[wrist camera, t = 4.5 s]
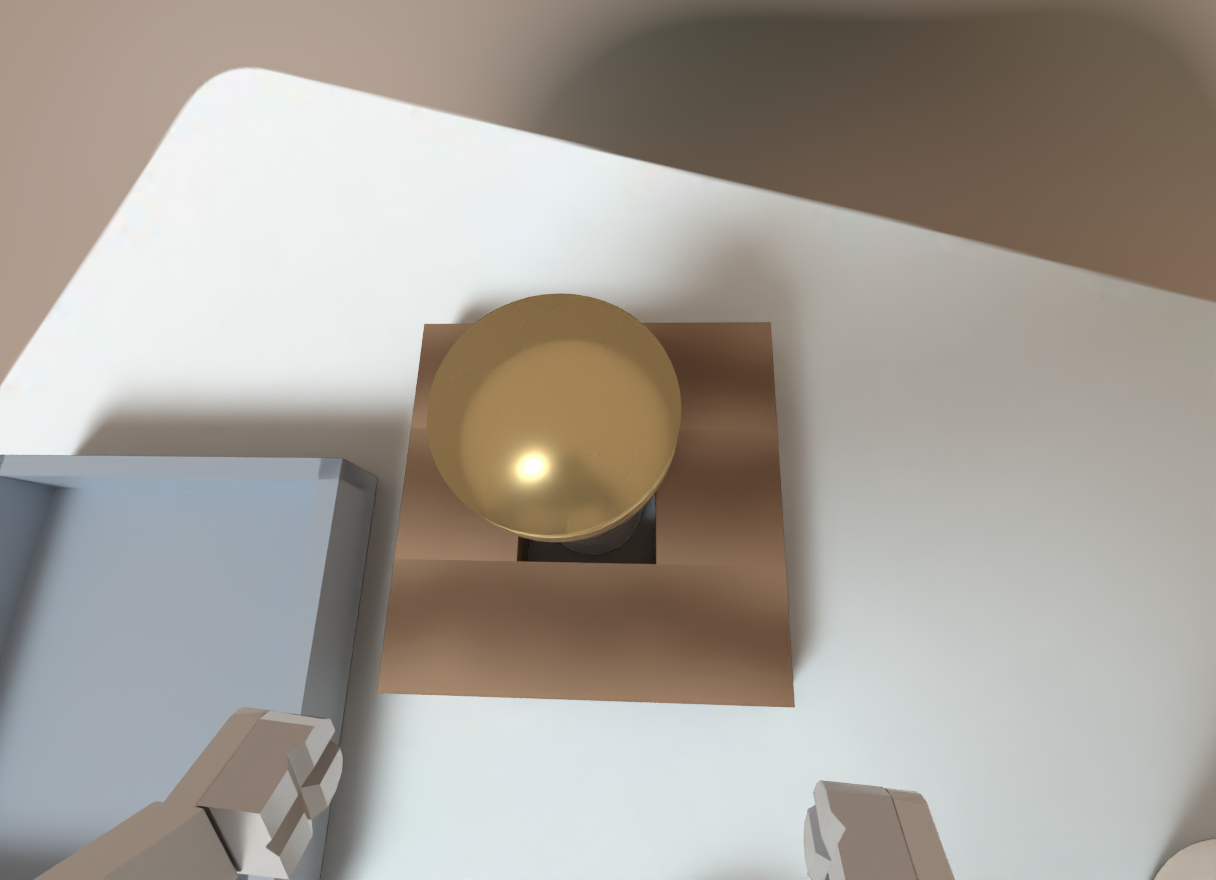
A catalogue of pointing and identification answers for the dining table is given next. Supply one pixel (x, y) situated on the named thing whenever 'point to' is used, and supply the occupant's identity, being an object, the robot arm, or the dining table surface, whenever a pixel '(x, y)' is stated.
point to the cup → (1191, 863)
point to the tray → (162, 627)
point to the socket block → (610, 592)
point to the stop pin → (556, 420)
